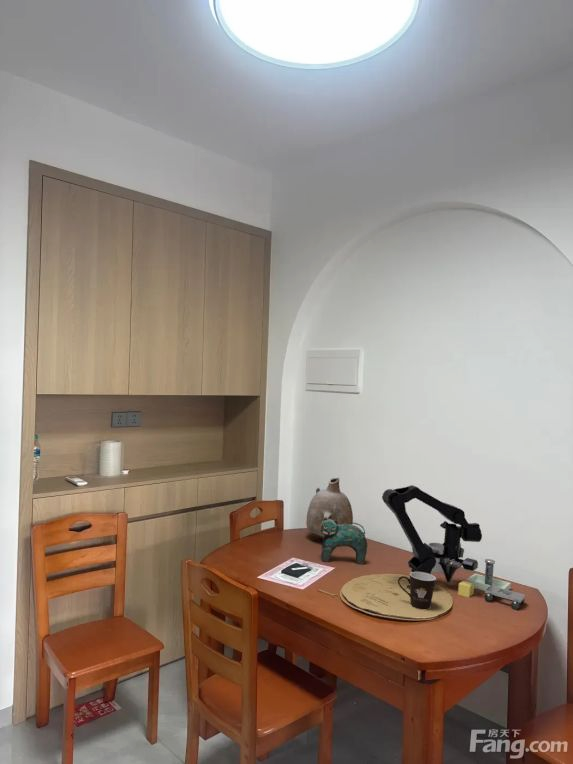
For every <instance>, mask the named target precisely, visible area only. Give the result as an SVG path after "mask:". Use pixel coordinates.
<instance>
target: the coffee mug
mask: <svg viewBox="0 0 573 764" xmlns="http://www.w3.org/2000/svg"><path fill="white" fill-rule="evenodd" d="M402 579H406V580H407V581H408V585H409V584H410V588H409V589H410V591H407V590H406V589H405V588H404V587H403V586H402V585H401V583H400V581H401V580H402ZM436 581H437V577H436V576H435V575H433V574H432V573H430V574H428V573H424V572H411V571H410V573H409V577H407V576H406V575H404V576H403V575H402V576H400V577H399V578H398V580H397V584H398V586H399V587H400V589H401V590H402V591H404V592H405V593H406V594H407V595H408V596H409V598H410V605H412V606H411V607H412V608H414V607H415V609H417V608H418V610H422V609H427V610H429V609H428V608H430V609H431V605H432V600H433V595H434V589H435V584H436Z"/></svg>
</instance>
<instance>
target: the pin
mask: <svg viewBox="0 0 573 764" xmlns="http://www.w3.org/2000/svg"><path fill="white" fill-rule="evenodd" d="M484 562H485V569H484V570H485V571H484V572H485V573H484V576H485V584H487V585H492V582H493V578H494V566H495V565H494V564H495V563H496V560H494V559H490V558H486V559H484Z"/></svg>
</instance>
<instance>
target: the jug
mask: <svg viewBox="0 0 573 764" xmlns="http://www.w3.org/2000/svg"><path fill="white" fill-rule="evenodd" d="M339 513H342V514H344V515H345V516H344V515H342V514H339ZM337 514H339V515H337ZM336 516H337V521H338V523H340V524H346V523H350V524H351V525H354V524H353V523H354V517H353V516H354V515H353V509H352V504H351V502H350V499H349V498H348V496H347V495H346V494H345V493H344V492H341V489H340V477H332V478H331V479H329V481H328V485H327V487H326V488H325V489H320V487H317V488H316V489H315V494H314V496H313V497H312V498H311V500H310V502H309V505H308V509H307V513H306V521H305V522H306V523H305V525H306V529H307V531H309V532H310V533H313V534H315V535H318V536H319V537H320V538H322V540H323V539H324V534H323V533H322V532H321V523H322V521H323V520H324V518H325V517H326V518H327V519H331V520H333V521H336ZM351 522H353V523H351ZM338 523H337V524H338ZM338 525H339V524H338Z"/></svg>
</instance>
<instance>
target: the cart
mask: <svg viewBox="0 0 573 764" xmlns="http://www.w3.org/2000/svg"><path fill="white" fill-rule="evenodd" d="M500 592H503V593H506V594H503V593H500ZM484 593H485V595H484V599H485V600H484V601H486V602H488V603H489V602H492V601H493V599H494V598H493V597H500V598H503V599H507V600H510V601H512V602H511V603H510V606H511V609H513V610H515V611H516V610H518V609H519V608H520V604H523V603H525V601H526V599H525V598H526V594H525V593H521V592H517V591H513V590H511V589H510V590H506V589H503V588H499V587H496V586H492V585H491V586H489V587H488V588H487V589H486V590H485V591H484Z"/></svg>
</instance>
